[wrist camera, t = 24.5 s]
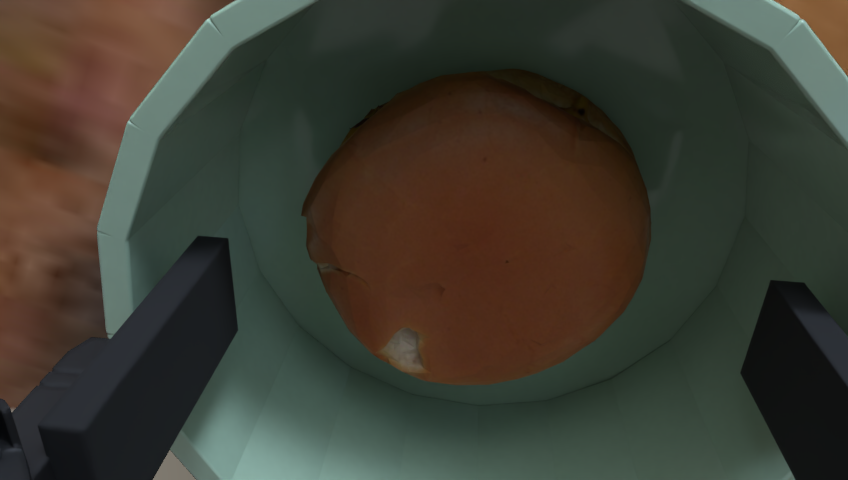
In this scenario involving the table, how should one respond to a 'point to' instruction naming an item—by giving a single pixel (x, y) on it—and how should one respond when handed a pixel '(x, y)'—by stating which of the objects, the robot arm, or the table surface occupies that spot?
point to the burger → (480, 227)
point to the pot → (556, 386)
